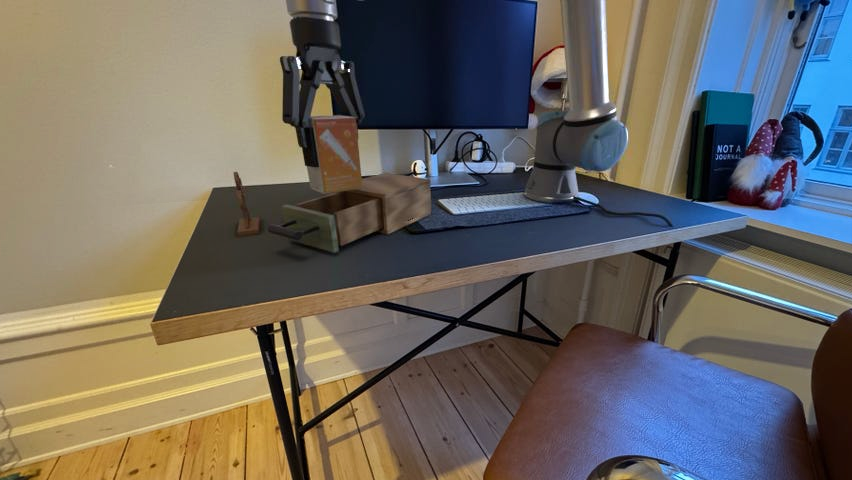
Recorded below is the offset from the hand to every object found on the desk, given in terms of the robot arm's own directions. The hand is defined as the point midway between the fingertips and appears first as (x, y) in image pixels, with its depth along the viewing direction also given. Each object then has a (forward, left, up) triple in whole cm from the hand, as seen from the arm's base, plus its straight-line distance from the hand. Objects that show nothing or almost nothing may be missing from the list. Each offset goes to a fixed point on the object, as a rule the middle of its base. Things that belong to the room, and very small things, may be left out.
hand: (333, 162), depth 69 cm
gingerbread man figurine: (+21, +7, -15) cm, 27 cm away
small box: (0, 0, -5) cm, 5 cm away
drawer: (0, +3, -14) cm, 15 cm away
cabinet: (0, -14, -15) cm, 21 cm away
